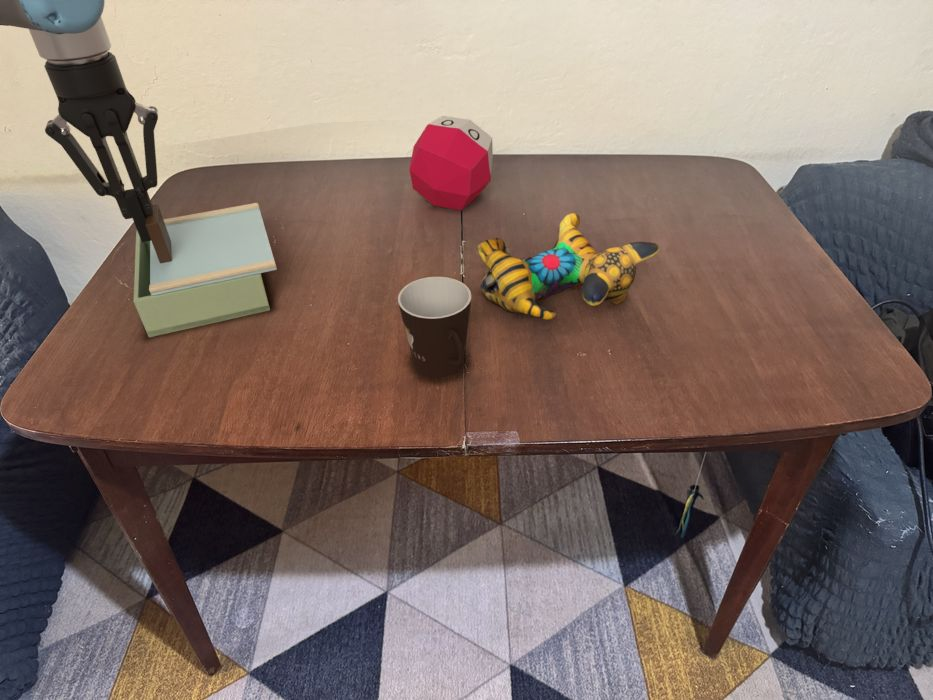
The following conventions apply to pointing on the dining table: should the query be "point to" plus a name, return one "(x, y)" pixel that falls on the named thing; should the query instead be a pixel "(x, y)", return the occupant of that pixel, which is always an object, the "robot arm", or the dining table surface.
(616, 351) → the dining table surface
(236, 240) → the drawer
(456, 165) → the decorative object
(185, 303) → the green open storage box
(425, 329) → the coffee mug
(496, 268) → the dog figurine
